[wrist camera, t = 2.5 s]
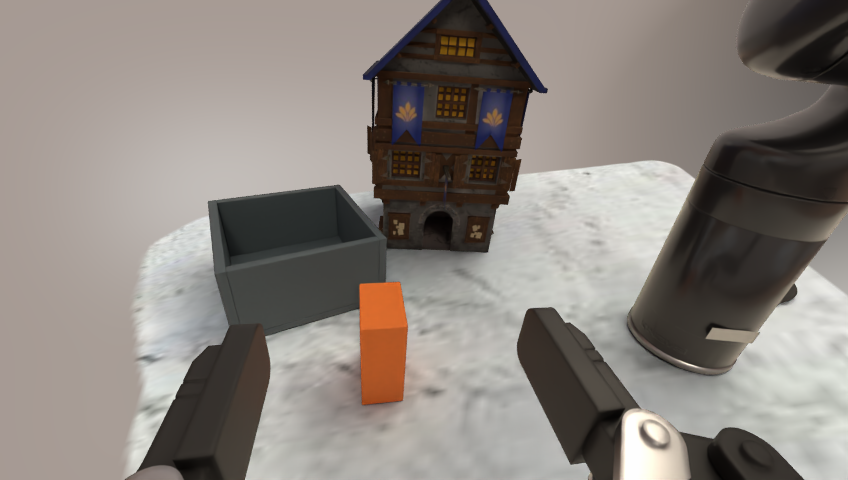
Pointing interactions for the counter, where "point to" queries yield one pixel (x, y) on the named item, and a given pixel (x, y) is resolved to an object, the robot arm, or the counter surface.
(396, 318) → the block
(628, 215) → the counter surface
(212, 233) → the bin
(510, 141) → the miniature building
